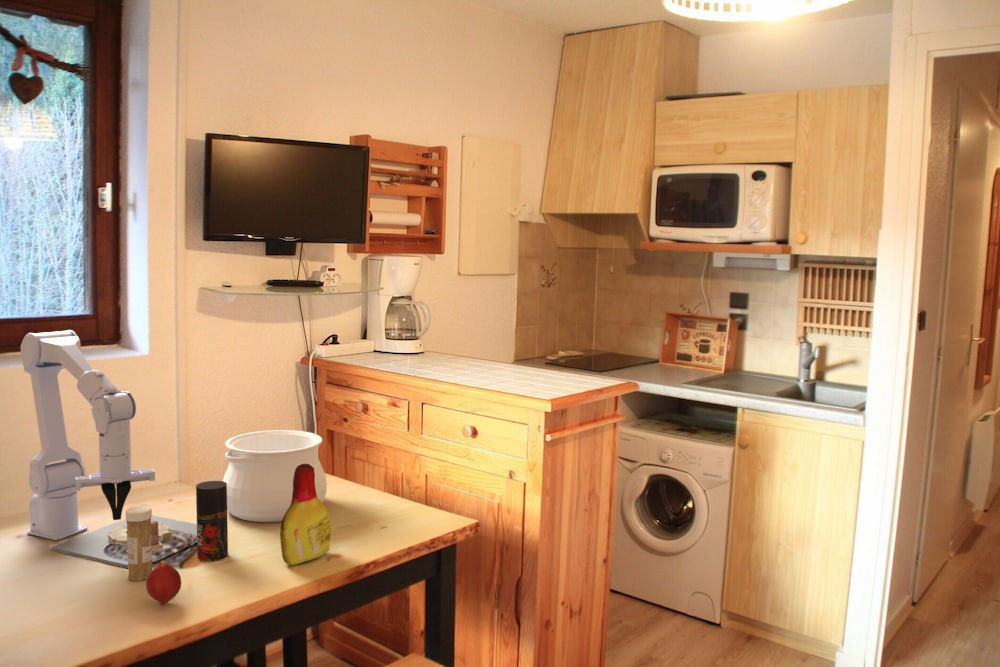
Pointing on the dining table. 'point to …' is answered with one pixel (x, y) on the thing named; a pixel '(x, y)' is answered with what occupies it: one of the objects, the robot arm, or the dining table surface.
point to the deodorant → (212, 521)
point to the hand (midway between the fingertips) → (116, 518)
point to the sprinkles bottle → (139, 542)
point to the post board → (98, 540)
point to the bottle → (304, 521)
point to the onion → (163, 583)
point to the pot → (269, 472)
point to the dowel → (167, 536)
